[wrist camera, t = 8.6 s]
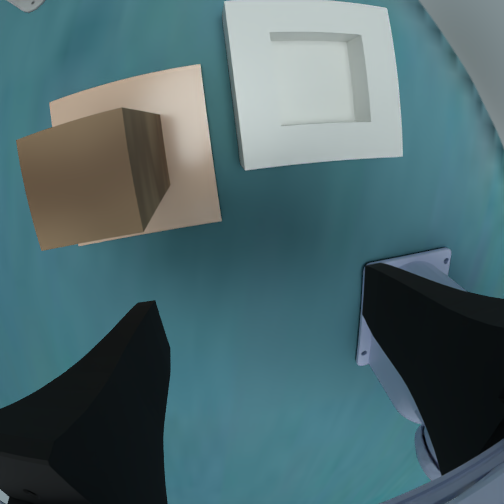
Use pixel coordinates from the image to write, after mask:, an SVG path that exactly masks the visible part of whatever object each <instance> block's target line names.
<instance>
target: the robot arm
mask: <svg viewBox="0 0 504 504" xmlns="http://www.w3.org/2000/svg"><path fill="white" fill-rule="evenodd" d="M445 258H446V259H445ZM450 259H451V250H450V249H448V248H447V247H445V248H440V249H436V250H431V251H426V252H421V253H416V254H411V255H406V256H401V257H396V258H391V259H386V260H381V261H376V262H371V263H368V264H367V265H365V267H364V270H363V287H362V302H361V316H360V328H359V338H358V348H357V357H356V363H357V364H358V365H359V366H363V365H367V364H369V365H370V367H371V368H372V370H373V372H374V373H375V375H376V377H377V378H378V380H379V382H380V383H381V385H382V387H383V388H384V390H385V392H386V393H387V395H388V397H389V398H390V400H391V402H392V403H393V405H394V407H395V408H396V409H397V411H398V412H399V413H400V414H401V415H402V416H404V417H405V418H407V419H408V420H410V421H413V422H415V423H419V424H421V425H420V426H419V427H418V429H417V431H416V433H415V447H416V455H417V458H418V461H419V463H420V465H421V467H422V469H423V471H424V472H425V474H426V475H427V476H428V478H429V479H430V480H431V482H429V483H427V484H424V485H422V486H420V487H418V488H416V489H414V490H411V491H409V492H407V493H405V494H402V495H400V496H397V497H395V498H392V499H390V500H387V501H385V502H382V503H380V504H445V503H446V504H504V299H500V298H494V297H488V296H483V295H478V294H474V293H470V292H467V291H466V290H465V289H464V288H462V287H461V286H460V285H459V284H457V283H456V282H455V281H454V280H452V279H451V278H450V277H448V271H449V265H450ZM444 260H445V261H444ZM363 351H364V352H363ZM169 380H170V346H169V343H168V340H167V337H166V334H165V331H164V328H163V324H162V321H161V318H160V315H159V311H158V308H157V305H156V302H155V301H147V302H140V303H137V304H136V305H135V306H134V307H133V308H132V309H131V310H130V311H129V312H128V313H127V314H126V315H125V316H124V317H123V318H122V319H121V320H120V321H119V323H118V324H117V325H116V326H115V327H114V328H113V329H112V330H111V331H110V332H109V333H108V334H107V335H106V336H105V337H104V338H103V339H102V340H101V341H100V342H99V343H98V344H97V345H96V346H95V347H94V348H93V349H92V350H91V351H90V352H89V353H88V354H86V355H85V356H84V357H83V358H82V359H81V360H80V361H78V362H77V363H76V364H75V365H73V366H72V367H71V368H70V369H68V370H67V371H66V372H64V373H63V374H62V375H60V376H59V377H57V378H56V379H54V380H53V381H51V382H50V383H48V384H47V385H45V386H44V387H42V388H41V389H39V390H37V391H36V392H34V393H32V394H30V395H29V396H27V397H25V398H23V399H21V400H19V401H17V402H15V403H13V404H11V405H9V406H6V407H4V408H1V409H0V489H1V490H2V491H3V492H4V493H6V494H7V495H8V496H9V501H8V504H167V495H166V486H165V472H164V450H163V433H164V421H165V412H166V404H167V396H168V388H169ZM456 497H457V498H456ZM454 498H455V499H454ZM452 499H453V500H452ZM450 500H451V501H450ZM449 501H450V502H449ZM447 502H448V503H447ZM0 504H5V503H3V502H2V501H0Z"/></svg>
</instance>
